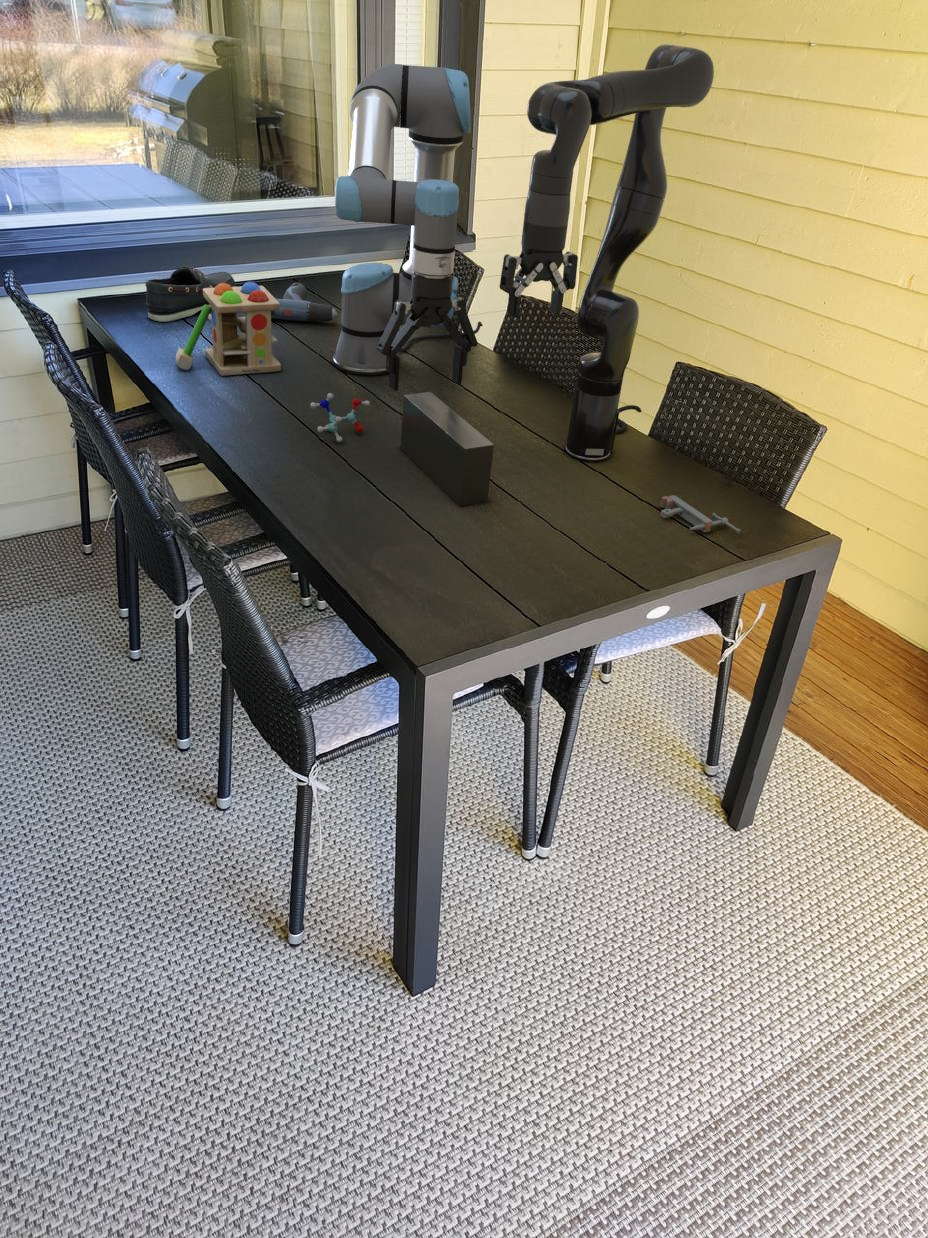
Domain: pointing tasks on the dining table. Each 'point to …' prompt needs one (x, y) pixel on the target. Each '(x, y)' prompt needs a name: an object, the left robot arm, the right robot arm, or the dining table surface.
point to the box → (446, 448)
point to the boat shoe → (181, 293)
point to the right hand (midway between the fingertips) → (534, 314)
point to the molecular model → (335, 420)
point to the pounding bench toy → (229, 347)
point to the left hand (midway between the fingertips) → (425, 385)
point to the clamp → (672, 508)
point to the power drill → (301, 307)
